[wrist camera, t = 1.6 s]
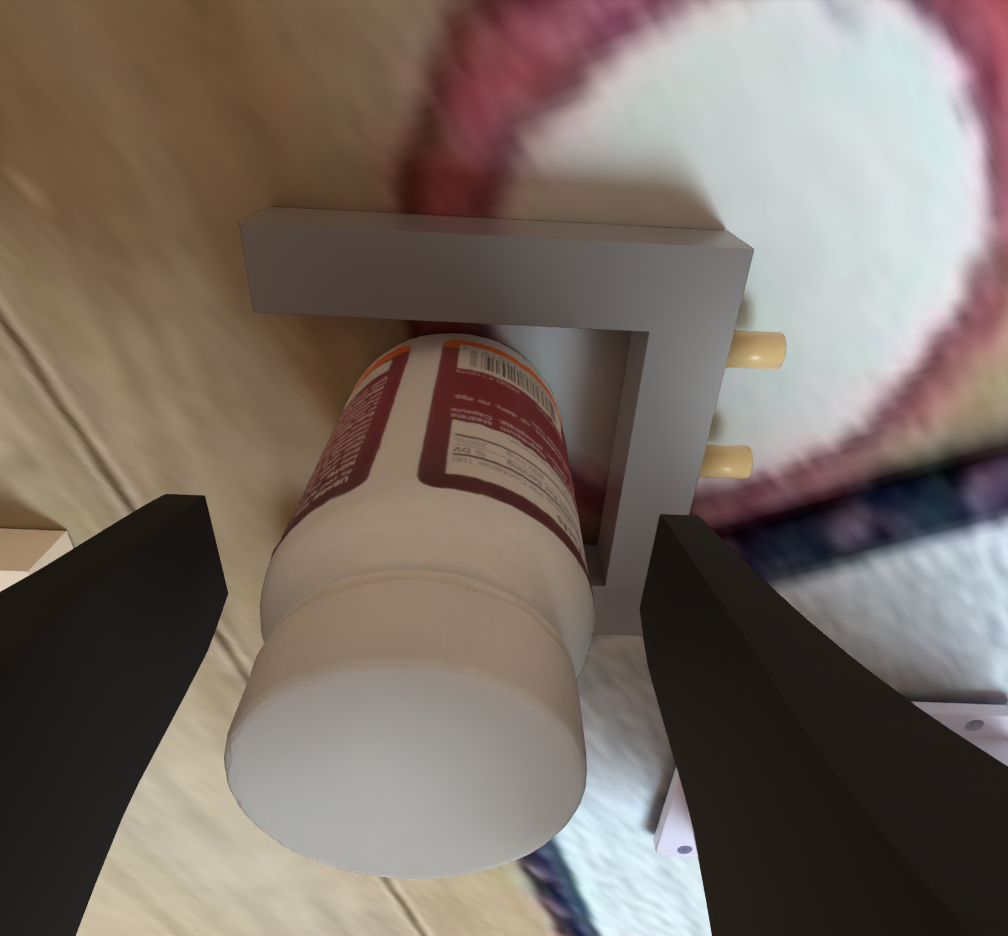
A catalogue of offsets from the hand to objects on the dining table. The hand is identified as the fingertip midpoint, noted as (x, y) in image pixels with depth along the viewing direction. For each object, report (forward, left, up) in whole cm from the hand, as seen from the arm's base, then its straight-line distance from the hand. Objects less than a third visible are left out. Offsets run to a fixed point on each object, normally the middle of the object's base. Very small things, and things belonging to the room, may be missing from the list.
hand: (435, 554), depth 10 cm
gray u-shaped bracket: (-1, 0, -4) cm, 5 cm away
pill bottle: (0, 0, -5) cm, 5 cm away
